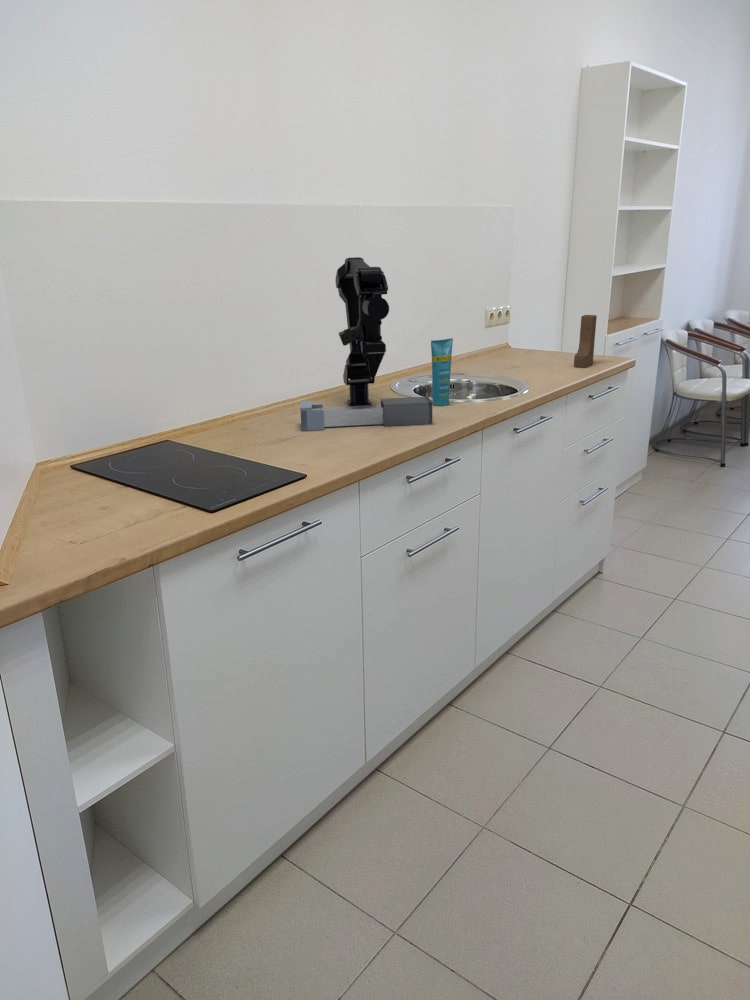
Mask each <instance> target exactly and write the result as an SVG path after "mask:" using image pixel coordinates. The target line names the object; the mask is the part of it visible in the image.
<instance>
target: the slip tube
mask: <svg viewBox="0 0 750 1000" xmlns="http://www.w3.org/2000/svg"><path fill="white" fill-rule="evenodd" d="M312 409H324V428H331V427H352V426H371V425H373V426H375V425H384V407H383V405H381V404H371V405H356V406H349V405H348V406H346V405H345V406H343V405H342V406H327V407H326V406H325V407H321V408H312Z"/></svg>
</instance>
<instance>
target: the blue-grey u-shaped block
mask: <svg viewBox="0 0 750 1000" xmlns="http://www.w3.org/2000/svg"><path fill="white" fill-rule="evenodd" d="M321 407H323V403H322V402H321V403H312V400H305V401H304V400H303V401H302V400H301V401H299V409H300V424H301V431H302V432H308V431H310V432H311V431H325V427H324V409H312V408H321Z"/></svg>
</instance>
